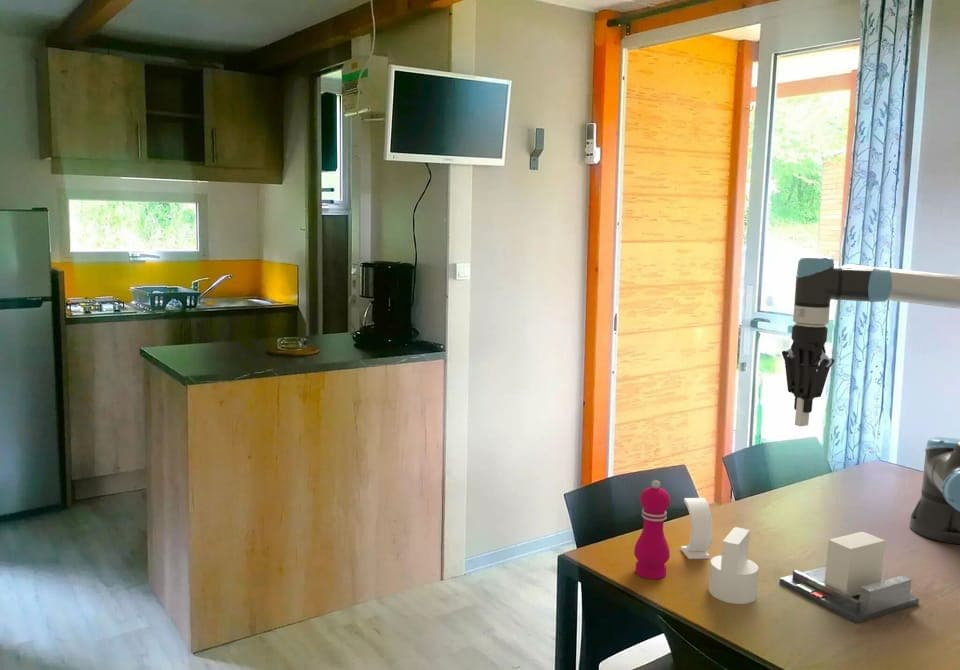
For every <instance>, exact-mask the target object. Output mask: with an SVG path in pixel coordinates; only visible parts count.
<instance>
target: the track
mask: <svg viewBox="0 0 960 670" xmlns="http://www.w3.org/2000/svg"><path fill="white" fill-rule="evenodd" d="M825 573H826V565H824V566H821V567H817V568H812V569H809V570H805V571H800V570H798V569H795V570H792V574H790V575H787V576H783V577H779V585H780V586H781V585H782V587H785V588H787V589H789V590H791V591H793V592H795V593H797V594H798V595H801V596H803V597H805V598H806V599H807V600H810V601H812V602H814V603H815V604H818V605H820V606H821V607H823V608H825V609H828V610H829V611H831V612H833V613H835V614H837V615H838V616H840V617H843V618H844V619H847V620H848V621H850V622H852V623H854V624H856V625H858V624H861V623H863V622H866V621H870V620H873V619H876V618H879V617H882V616H886V615H889V614H891V613H895V612H898V611H901V610H905V609H907V608H911V607H914V606H918V605H919V603H920V602H919V601H920V599H919V598H918V597H916V596H915V595H912V594H911V588H912V578H909V577H906V576H905V575H898V576H895V577H892V578H887V579H885V580H882V579H881V581H880V582H877V583H873V584H870V585H866V586H863V587H861V588H860V594H859V595H856V596H852V597H851V596H849V595H847V594H845V593H842V592H840V591H838V590H836V589H834V588H832V587H830V586H828V585H826V584H825Z"/></svg>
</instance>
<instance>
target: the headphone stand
mask: <svg viewBox="0 0 960 670" xmlns="http://www.w3.org/2000/svg"><path fill="white" fill-rule="evenodd" d="M683 503H684V504H685V505H686V508H687V510H688V513H689V520H690V538H689V543H688V545H681V546H680V551H681V552H682V553H683V554H684V555H685V556H686V557H687V559H688V560H697V559H698V560H700V559H701V560H702V559H710V554H709V553H708V551H709V549H710V547H711V545H712V541H713V534H714V526H713V525H714V523H713V517H712V513H711V508H710V506H709V505H710V504H709V503H708V501H707V500H706V498H705V497H684V499H683Z"/></svg>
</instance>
